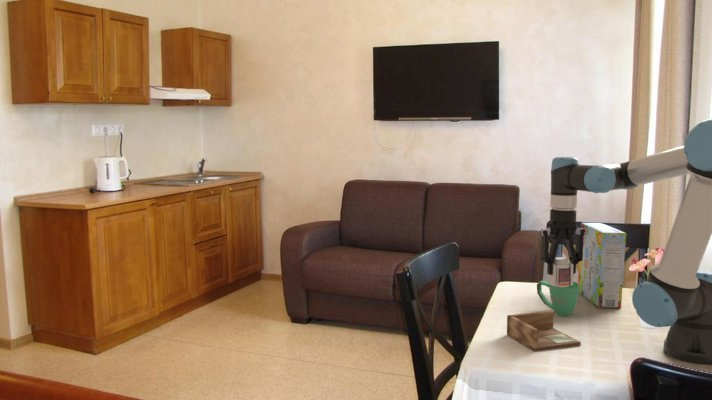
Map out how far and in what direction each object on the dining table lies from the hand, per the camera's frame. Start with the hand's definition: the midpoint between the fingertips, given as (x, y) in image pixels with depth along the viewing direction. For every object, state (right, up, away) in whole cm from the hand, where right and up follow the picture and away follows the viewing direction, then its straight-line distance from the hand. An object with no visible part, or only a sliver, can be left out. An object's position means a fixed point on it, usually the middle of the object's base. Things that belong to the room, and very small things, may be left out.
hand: (561, 284), depth 194 cm
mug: (+3, -11, +14) cm, 19 cm away
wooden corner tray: (-9, -14, -11) cm, 20 cm away
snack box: (+23, -9, +29) cm, 38 cm away
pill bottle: (0, -1, 0) cm, 1 cm away
